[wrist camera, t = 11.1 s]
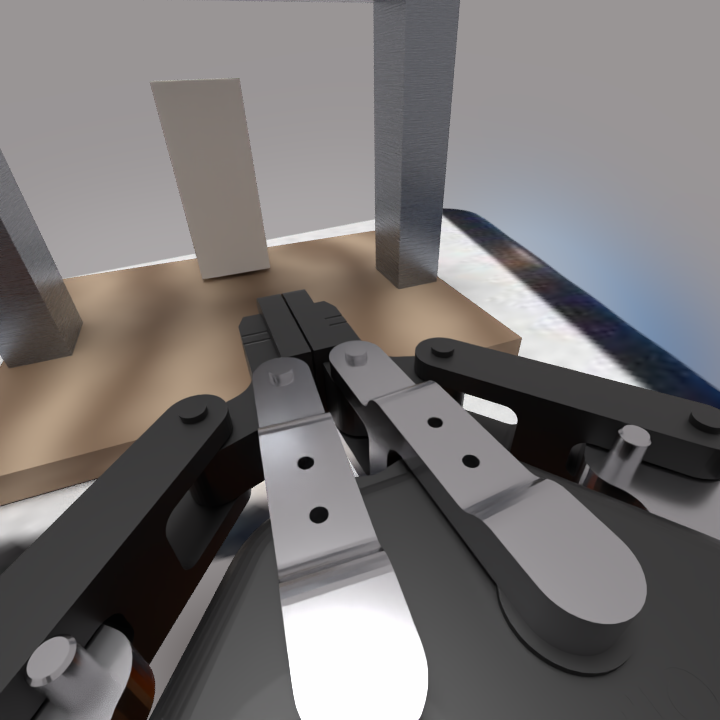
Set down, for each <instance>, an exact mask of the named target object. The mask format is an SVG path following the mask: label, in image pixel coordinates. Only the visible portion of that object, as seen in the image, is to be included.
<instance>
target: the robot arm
mask: <svg viewBox="0 0 720 720" xmlns="http://www.w3.org/2000/svg"><path fill="white" fill-rule="evenodd" d="M256 302H257V308H258V313H259V314H256V315H251V316H246V317H243V318H242V320H241V322H240V324H239V326H238V328H239V332H240V336H241V341H242V345H243V349H244V354H245V358H246V362H247V367H248V370H249V374H250V377H251V383H250V385H249V386H248V388H247V389H246V390H245V391H244V392H242V393H241V394H240V395H238V396H236V397H235V398H233V399H231V400H229V401H227V402H225V401H224V400H223V399H222V398H220V397H218V396H215V395H210V394H201V395H194V396H190V397H187V398H185V399H182V400H180V401H178V402H176V403H175V404H173V405H172V406H171V407H170V408H168V409H167V410H166V411H165V412H164V413H163V414H162V415H161V416H160V417H159V418H158V419H157V420H156V421H155V422H154V423H153V424H152V425H151V426H150V427H149V428H148V429H147V430H146V431H145V432H144V433H143V434H142V435H141V436H140V437H139V438H138V439H137V440H136V441H135V442H134V443H133V444H132V445H131V446H130V447H129V448H128V449H127V450H126V451H125V452H124V453H123V454H122V455H121V456H120V457H119V458H118V459H117V460H116V461H115V462H114V463H113V464H112V465H111V466H110V467H109V468H108V469H107V470H106V471H105V472H104V473H103V474H102V475H101V476H100V477H99V478H98V479H97V480H96V481H95V482H94V483H93V484H92V485H91V486H90V487H89V488H88V489H87V490H86V491H85V492H84V493H83V494H82V495H81V496H80V497H79V498H78V499H77V500H76V501H75V502H74V503H73V504H72V505H71V506H70V507H69V508H68V509H67V510H66V511H65V512H64V513H63V514H62V515H61V516H60V517H59V518H58V519H57V520H56V521H55V522H54V523H53V524H52V525H51V526H50V527H49V528H48V529H47V530H46V531H45V532H44V533H43V534H42V535H41V536H40V537H39V538H38V539H37V540H36V541H35V542H34V543H33V544H32V545H31V546H30V547H29V548H28V549H27V550H26V551H25V552H24V553H23V554H22V555H21V556H20V557H19V558H18V559H17V560H16V561H15V562H14V563H13V564H12V565H11V566H10V567H9V568H8V569H7V570H6V571H5V572H4V573H3V574H2V575H1V576H0V720H147V718H148V715H149V713H150V711H151V708H152V704H153V701H154V695H155V678H154V674H153V671H152V669H151V667H150V666H149V664H150V663H151V661H152V659H153V658H154V656H155V654H156V653H157V651H158V650H159V648H160V646H161V645H162V643H163V641H164V640H165V638H166V636H167V635H168V633H169V631H170V629H171V628H172V626H173V625H174V623H175V621H176V620H177V618H178V616H179V615H180V613H181V612H182V610H183V608H184V607H185V605H186V603H187V602H188V600H189V598H190V597H191V595H192V593H193V592H194V590H195V588H196V587H197V585H198V583H199V582H200V580H201V579H202V577H203V575H204V573H205V572H206V570H207V569H208V567H209V565H210V564H211V562H212V560H213V559H214V557H215V555H216V554H217V552H218V550H219V549H220V547H221V546H222V544H223V542H224V541H225V539H226V537H227V536H228V534H229V532H230V531H231V529H232V527H233V526H234V524H235V522H236V521H237V519H238V517H239V516H240V514H241V512H242V511H243V509H244V508H245V506H246V504H247V503H248V501H249V499H250V495H251V488H253V487H254V486H256V485H257V484H259V483H261V482H262V481H264V480H265V484H266V491H267V498H268V505H269V512H270V518H269V519H268V520H267V521H266V522H264V523H263V524H262V525H261V526H260V527H259V528H257V529H256V530H255V531H254V532H253V533H252V534H251V536H250V537H249V538H248V539H247V540H246V541H245V543H244V544H243V545H242V546H241V548H240V549H239V551H238V552H237V554H236V555H235V557H234V558H233V560H232V562H231V564H230V566H229V567H228V569H227V571H226V573H225V575H224V577H223V579H222V581H221V583H220V585H219V587H218V588H217V590H216V592H215V594H214V596H213V598H212V600H211V602H210V604H209V606H208V608H207V609H206V611H205V613H204V615H203V617H202V619H201V621H200V623H199V625H198V627H197V629H196V630H195V632H194V634H193V636H192V638H191V640H190V642H189V644H188V646H187V648H186V650H185V652H184V653H183V655H182V657H181V659H180V661H179V663H178V665H177V667H176V669H175V671H174V672H173V674H172V676H171V678H170V680H169V682H168V684H167V686H166V688H165V690H164V692H163V694H162V695H161V697H160V699H159V701H158V703H157V705H156V707H155V709H154V711H153V713H152V715H151V716H150V718H149V720H720V410H719V409H717V408H714V407H712V406H709V405H706V404H702V403H698V402H694V401H690V400H687V399H683V398H679V397H675V396H671V395H667V394H663V393H660V392H656V391H652V390H648V389H644V388H640V387H636V386H632V385H629V384H625V383H621V382H617V381H613V380H609V379H605V378H601V377H598V376H594V375H590V374H586V373H582V372H578V371H574V370H571V369H567V368H563V367H559V366H555V365H551V364H547V363H543V362H540V361H536V360H532V359H528V358H524V357H520V356H516V355H512V354H509V353H505V352H501V351H497V350H493V349H489V348H485V347H481V346H478V345H474V344H470V343H466V342H462V341H458V340H454V339H450V338H444V337H435V338H429V339H426V340H423V341H421V342H420V343H419V344H418V345H417V346H416V348H415V356H399V357H392V356H388V355H387V354H386V353H385V352H384V351H383V350H382V349H381V348H380V347H379V346H377V345H375V344H373V343H371V342H367V341H361V339H360V338H359V337H358V335H357V334H356V333H355V331H354V330H353V329H352V328H351V326H350V325H349V324H348V323H347V321H346V320H345V318H344V317H343V316H342V314H341V313H340V312H339V310H338V309H337V308H336V306H334V305H332V304H330V303H328V302H326V301H321V302H316V303H314V302H313V300H312V299H311V297H310V296H309V294H308V293H307V291H306V290H305V289H302V290H297V291H292V292H286V293H282V294H276V295H271V296H266V297H260V298H256ZM465 393H466V394H469V395H472V396H475V397H478V398H482V399H485V400H488V401H491V402H494V403H498V404H501V405H504V406H507V407H509V408H510V409H512V410H513V411H514V412H515V414H516V416H517V418H518V422H517V424H514V425H511V424H507V423H504V422H501V421H498V420H495V419H491V418H488V417H485V416H482V415H479V414H476V413H473V412H470V411H467V410H465V409H464V408H462V407H463V400H464V394H465ZM334 422H335V423H334ZM347 457H348V458H347ZM348 459H349V460H350V462H351V464H352V465H353V467H354V469H355V470H356V472H357V473H358V475H359V477H354V474H353V472H352V469H351V466H350V463H349V461H348Z"/></svg>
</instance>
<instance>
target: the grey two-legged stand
mask: <svg viewBox="0 0 720 720" xmlns="http://www.w3.org/2000/svg"><path fill="white" fill-rule="evenodd" d="M232 1H234V0H232ZM235 1H299V2H300V1H301V2H365V3H366V2H367V3H369V2H370V3H374V116H375V117H374V118H375V245H376V270H378V271H379V272H380V273H381V274H382V275H383V276H384V277H385V278H386V279H388V280H389V281H390V282H391V283H392V284H393V285H394V286H395V287H396V288H398V289H403V288H408V287H413V286H418V285H423V284H427V283H432V282H437V270H438V258H439V246H440V234H441V222H442V210H443V198H444V185H445V174H446V173H445V172H446V162H447V150H448V138H449V126H450V114H451V102H452V90H453V78H454V66H455V54H456V42H457V29H458V17H459V4H460V0H235ZM82 325H83V321H82V319H81V317H80V315H79V313H78V311H77V309H76V306H75V304H74V302H73V300H72V298H71V296H70V294H69V292H68V290H67V288H66V286H65V283H64V281H63V279H62V277H61V275H60V273H59V271H58V269H57V267H56V265H55V263H54V260H53V258H52V256H51V254H50V252H49V250H48V248H47V246H46V244H45V241H44V239H43V237H42V235H41V233H40V231H39V229H38V227H37V225H36V223H35V221H34V219H33V216H32V214H31V212H30V210H29V208H28V206H27V204H26V202H25V200H24V197H23V195H22V193H21V191H20V189H19V187H18V185H17V183H16V181H15V179H14V177H13V175H12V172H11V170H10V168H9V166H8V164H7V162H6V160H5V158H4V156H3V153H2V151H1V150H0V355H1V357H2V359H3V360H4V362H5V363H6V365H7V366H8V368H14V367H18V366H23V365H28V364H33V363H38V362H43V361H48V360H53V359H58V358H63V357H68V356H72V355H73V352H74V349H75V346H76V343H77V340H78V337H79V334H80V331H81V328H82Z"/></svg>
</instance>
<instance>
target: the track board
mask: <svg viewBox="0 0 720 720" xmlns="http://www.w3.org/2000/svg"><path fill="white" fill-rule="evenodd" d="M267 250H268V256H269V263H270V268H267V269H261V270H255V271H249V272H244V273H238V274H232V275H226V276H220V277H214V278H208V279H202V275H201V272H200V268H199V264H198V260H197V258H196V259H190V260H183V261H177V262H170V263H164V264H157V265H151V266H145V267H138V268H132V269H125V270H119V271H112V272H106V273H100V274H93V275H87V276H80V277H74V278H67V279H63V281H64V283H65V286H66V288H67V290H68V292H69V294H70V296H71V298H72V300H73V302H74V304H75V306H76V309H77V311H78V313H79V315H80V317H81V319H82V321H83V325H82V328H81V331H80V334H79V337H78V340H77V343H76V346H75V349H74V352H73V355H72V356H68V357H63V358H58V359H53V360H48V361H43V362H38V363H33V364H28V365H23V366H18V367H14V368H8V366H7V365H6V363H5V362H4V361H3V362H2V364H1V366H0V506H1V505H4V504H8V503H11V502H15V501H18V500H22V499H25V498H29V497H33V496H36V495H40V494H43V493H47V492H50V491H54V490H57V489H61V488H64V487H68V486H72V485H75V484H79V483H82V482H86V481H89V480H93V479H96V478H99V477H100V476H101V475H102V474H103V473H104V472H105V471H106V470H107V469H108V468H109V467H110V466H111V465H112V464H113V463H114V462H115V461H116V460H117V459H118V458H119V457H120V456H121V455H122V454H123V453H124V452H125V451H126V450H127V449H128V448H129V447H130V446H131V445H132V444H133V443H134V442H135V441H136V440H137V439H138V438H139V437H140V436H141V435H142V434H143V433H144V432H145V431H146V430H147V429H148V428H149V427H150V426H151V425H152V424H153V423H154V422H155V421H156V420H157V419H158V418H159V417H160V416H161V415H162V414H163V413H164V412H165V411H166V410H167V409H168V408H170V407H171V406H172V405H173V404H175V403H176V402H178V401H180V400H182V399H185V398H187V397H190V396H194V395H201V394H210V395H215V396H218V397H220V398H222V399H223V400H224V401H225V402H227V401H229V400H231V399H233V398H235V397H236V396H238V395H240V394H241V393H242V392H244V391H245V390H246V389H247V388H248V386H249V385H250V383H251V377H250V374H249V370H248V367H247V362H246V358H245V354H244V349H243V345H242V341H241V336H240V332H239V328H238V326H239V324H240V322H241V320H242V318H243V317H246V316H251V315H256V314H259V313H258V308H257V302H256V298H260V297H266V296H271V295H276V294H282V293H286V292H292V291H297V290H302V289H305V290H306V291H307V293H308V294H309V296H310V297H311V299H312V300H313V302H314V303H316V302H321V301H326V302H328V303H330V304H332V305H334V306H336V308H337V309H338V310H339V312H340V313H341V314H342V316H343V317H344V318H345V320H346V321H347V323H348V324H349V325H350V326H351V328H352V329H353V330H354V331H355V333H356V334H357V335H358V337H359V338H360V339H361V341H367V342H371V343H373V344H375V345H377V346H379V347H380V348H381V349H382V350H383V351H384V352H385V353H386V354H387V355H388V356H392V357H399V356H415V348H416V346H417V345H418V344H419V343H420V342H421V341H423V340H426V339H429V338H435V337H444V338H450V339H454V340H458V341H462V342H466V343H470V344H474V345H478V346H481V347H485V348H489V349H493V350H497V351H501V352H505V353H509V354H512V355H516V356H518V353H519V348H520V344H521V340H522V338H521V337H520V336H519V335H517V334H516V333H514V332H513V331H512V330H510V329H509V328H508V327H506V326H505V325H503V324H502V323H501V322H499V321H498V320H497V319H495V318H494V317H492V316H491V315H490V314H488V313H487V312H485V311H484V310H483V309H481V308H480V307H479V306H477V305H476V304H474V303H473V302H472V301H470V300H469V299H468V298H466V297H465V296H463V295H462V294H461V293H459V292H458V291H457V290H455V289H454V288H452V287H451V286H450V285H448V284H447V283H446V282H444V281H443V280H441V279H440V278H439V277H437V282H432V283H427V284H423V285H418V286H413V287H408V288H403V289H398V288H396V287H395V286H394V285H393V284H392V283H391V282H390V281H389V280H388V279H386V278H385V277H384V276H383V275H382V274H381V273H380V272H379V271H378V270H376V245H375V231H370V232H363V233H357V234H350V235H344V236H337V237H331V238H325V239H318V240H312V241H305V242H299V243H292V244H286V245H280V246H273V247H267Z"/></svg>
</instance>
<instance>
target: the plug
mask: <svg viewBox="0 0 720 720" xmlns="http://www.w3.org/2000/svg"><path fill="white" fill-rule="evenodd" d="M150 84H151V89H152V92H153V96H154V100H155V103H156V107H157V111H158V115H159V118H160V122H161V126H162V130H163V133H164V137H165V141H166V145H167V148H168V152H169V156H170V160H171V163H172V167H173V171H174V174H175V178H176V182H177V186H178V189H179V193H180V197H181V201H182V204H183V208H184V211H185V216H186V219H187V223H188V227H189V231H190V234H191V238H192V242H193V245H194V249H195V253H196V257H197V260H198V264H199V268H200V272H201V275H202V279H208V278H214V277H220V276H226V275H232V274H238V273H244V272H249V271H255V270H261V269H267V268H270V263H269V256H268V250H267V244H266V238H265V232H264V226H263V220H262V214H261V208H260V202H259V195H258V189H257V183H256V177H255V171H254V165H253V159H252V152H251V146H250V140H249V134H248V128H247V122H246V116H245V110H244V103H243V97H242V92H241V85H240V79H239V78H224V79H198V80H172V81H171V80H170V81H151V82H150Z"/></svg>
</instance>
